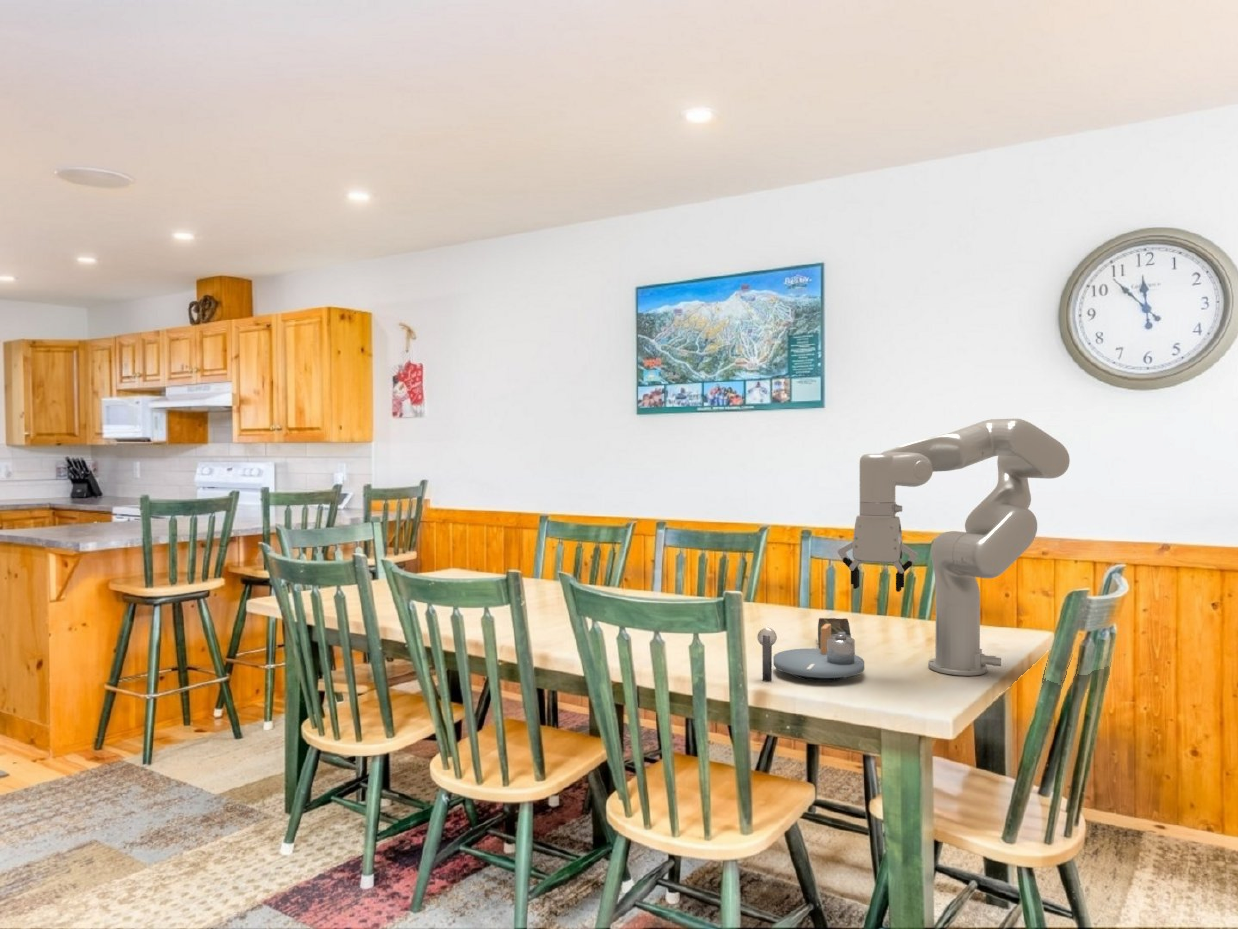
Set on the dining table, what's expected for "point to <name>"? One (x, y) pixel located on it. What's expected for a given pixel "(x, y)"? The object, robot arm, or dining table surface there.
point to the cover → (840, 650)
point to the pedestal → (818, 678)
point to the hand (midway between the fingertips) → (877, 589)
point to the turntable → (815, 661)
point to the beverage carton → (834, 627)
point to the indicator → (767, 651)
